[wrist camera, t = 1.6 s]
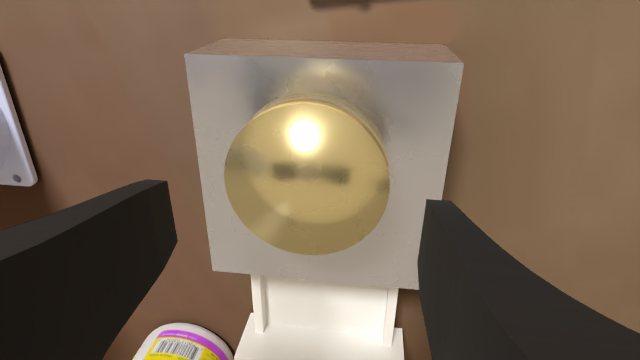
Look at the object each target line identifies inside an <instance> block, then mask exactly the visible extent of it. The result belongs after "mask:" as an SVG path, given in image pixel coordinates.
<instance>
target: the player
mask: <svg viewBox="0 0 640 360" xmlns="http://www.w3.org/2000/svg"><path fill="white" fill-rule="evenodd" d="M184 56H185V64H186V71H187V79H188V87H189V94H190V102H191V109H192V117H193V124H194V132H195V140H196V147H197V155H198V162H199V170H200V178H201V185H202V193H203V200H204V208H205V215H206V223H207V231H208V238H209V246H210V253H211V261H212V269H213V271H222V272H233V273H243V274H254V275H265V276H276V277H286V278H297V279H308V280H318V281H329V282H340V283H351V284H361V285H372V286H383V287H394V288H404V289H415V290H419V282H418V265H417V261H418V254H419V247H420V240H421V233H422V227H423V220H424V213H425V206H426V199H431V200H442V194H443V188H444V182H445V176H446V170H447V164H448V158H449V152H450V146H451V139H452V133H453V127H454V121H455V115H456V109H457V103H458V97H459V91H460V84H461V78H462V72H463V66H464V63H463V62H462V61H461V60H460V59H459V58H458V57H457V56H456V55H455V54H454V53H453V52H452V51H451V50H450V49H449V48H448V47H447V46H446V45H445V44H418V43H384V42H350V41H315V40H281V39H247V38H224V39H221V40H219V41H216V42H214V43H211V44H209V45H206V46H203V47H201V48H198V49H196V50H193V51H190V52H188V53H185V54H184ZM299 92H318V93H325V94H329V95H333V96H336V97H339V98H341V99H344V100H346V101H347V102H349V103H351V104H353V105H354V106H356V107H357V108H358V109H360V110H361V111H362V112H363V113H364V114H366V115H367V116H368V117H369V118H370V120H371V121H372V122H373V123H374V124H375V126H376V127H377V129H378V131H379V132H380V134H381V136H382V138H383V141H384V143H385V146H386V150H387V154H388V163H389V180H390V189H389V198H388V203H387V206H386V209H385V212H384V214H383V216H382V218H381V220H380V221H379V223H378V224H377V226H376V227H375V228H374V229H373V230H372V231H371V232H370V234H369V235H367V236H366V237H365V238H364V239H363V240H361V241H360V242H358V243H357V244H355V245H353V246H351V247H349V248H347V249H345V250H342V251H338V252H335V253H330V254H325V255H302V254H295V253H291V252H287V251H284V250H281V249H279V248H276V247H274V246H272V245H270V244H268V243H266V242H265V241H263V240H262V239H260V238H259V237H257V236H256V235H255V234H253V233H252V232H251V231H250V230H249V229H248V228H247V227H246V226H245V225H244V224H243V223H242V221H241V220H240V219H239V218H238V216H237V214H236V213H235V211H234V210H233V208H232V206H231V203H230V201H229V199H228V196H227V192H226V188H225V182H224V168H225V161H226V157H227V153H228V151H229V148H230V146H231V144H232V142H233V140H234V139H235V137H236V136H237V134H238V133H239V132H240V131H241V130H242V129H243V127H244V126H245V125H246V124H247V123H248V122H249V121H250V120H251V119H252V118H253V116H254V115H255V114H256V113H257V112H258V111H259V110H260V109H262V108H263V107H264V106H265V105H267V104H268V103H270V102H272V101H273V100H276V99H278V98H280V97H282V96H286V95H289V94H293V93H299Z"/></svg>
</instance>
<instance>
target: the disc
mask: <svg viewBox="0 0 640 360" xmlns="http://www.w3.org/2000/svg"><path fill="white" fill-rule="evenodd" d="M224 182H225V188H226V192H227V196H228V199H229V201H230V203H231V206H232V208H233V210H234V211H235V213H236V214H237V216H238V218H239V219H240V220H241V221H242V223H243V224H244V225H245V226H246V227H247V228H248V229H249V230H250V231H251V232H252V233H253V234H255V235H256V236H257V237H259V238H260V239H262V240H263V241H265V242H266V243H268V244H270V245H272V246H274V247H276V248H279V249H281V250H284V251H287V252H291V253H295V254H302V255H325V254H330V253H335V252H338V251H342V250H345V249H347V248H349V247H351V246H353V245H355V244H357V243H358V242H360V241H361V240H363V239H364V238H365V237H366V236H367V235H369V234H370V232H371V231H372V230H373V229H374V228H375V227H376V226H377V224H378V223H379V221H380V220H381V218H382V216H383V214H384V212H385V209H386V206H387V203H388V198H389V189H390V180H389V163H388V154H387V150H386V146H385V143H384V141H383V138H382V136H381V134H380V132H379V131H378V129H377V127H376V126H375V124H374V123H373V122H372V121H371V120H370V118H369V117H368V116H367V115H366V114H364V113H363V112H362V111H361V110H360V109H358V108H357V107H356V106H354V105H353V104H351V103H349V102H347V101H346V100H344V99H341V98H339V97H336V96H333V95H329V94H325V93H318V92H299V93H293V94H289V95H286V96H282V97H280V98H278V99H276V100H273V101H272V102H270V103H268V104H267V105H265V106H264V107H263V108H262V109H260V110H259V111H258V112H257V113H256V114H255V115H254V116H253V118H252V119H251V120H250V121H249V122H248V123H247V124H246V125H245V126H244V127H243V129H242V130H241V131H240V132H239V133H238V134H237V136H236V137H235V139H234V140H233V142H232V144H231V146H230V148H229V151H228V153H227V157H226V161H225V168H224Z"/></svg>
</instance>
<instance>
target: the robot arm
mask: <svg viewBox="0 0 640 360" xmlns="http://www.w3.org/2000/svg"><path fill="white" fill-rule="evenodd" d="M19 176H20V178H19ZM37 181H38V178H37V175H36V172H35V168H34V165H33V162H32V159H31V156H30V153H29V150H28V147H27V144H26V141H25V138H24V135H23V132H22V129H21V126H20V123H19V120H18V117H17V114H16V111H15V108H14V105H13V102H12V99H11V95H10V92H9V89H8V86H7V83H6V80H5V77H4V74H3V71H2V68H1V65H0V184H1V185H14V186H32V185H34V184H35V183H37ZM176 243H177V235H176V230H175V224H174V218H173V212H172V206H171V201H170V195H169V189H168V183H167V181H160V180H143V181H139V182H136V183H132V184H129V185H127V186H124V187H121V188H118V189H116V190H113V191H110V192H108V193H105V194H103V195H100V196H98V197H95V198H92V199H90V200H87V201H85V202H82V203H80V204H77V205H75V206H72V207H69V208H66V209H63V210H61V211H58V212H55V213H52V214H50V215H47V216H44V217H41V218H39V219H36V220H33V221H30V222H27V223H24V224H21V225H17V226H14V227H11V228H8V229H4V230H1V231H0V360H102V359H103V357H104V355H105V353H106V352H107V350H108V348H109V347H110V345H111V344H112V342H113V341H114V339H115V338H116V336H117V335H118V333H119V332H120V330H121V329H122V328H123V326H124V325H125V323H126V322H127V321H128V319H129V318H130V316H131V315H132V314H133V312H134V311H135V309H136V308H137V307H138V305H139V304H140V302H141V301H142V300H143V298H144V297H145V295H146V294H147V293H148V291H149V290H150V288H151V287H152V285H153V284H154V283H155V281H156V280H157V278H158V277H159V275H160V274H161V272H162V271H163V269H164V267H165V266H166V264H167V262H168V260H169V258H170V256H171V254H172V252H173V250H174V248H175V245H176ZM417 265H418V282H419V295H420V300H421V305H422V311H423V316H424V321H425V326H426V331H427V336H428V341H429V346H430V350H431V355H432V360H640V334H639V333H637V332H635V331H633V330H631V329H629V328H627V327H625V326H623V325H621V324H619V323H617V322H615V321H613V320H611V319H609V318H607V317H605V316H604V315H602V314H600V313H598V312H596V311H595V310H593V309H591V308H589V307H588V306H586V305H584V304H582V303H580V302H579V301H577V300H575V299H573V298H572V297H570V296H569V295H567V294H565V293H564V292H562V291H560V290H559V289H557V288H556V287H554V286H553V285H551V284H550V283H548V282H547V281H545V280H544V279H542V278H541V277H539V276H538V275H536V274H535V273H533V272H532V271H531V270H529V269H528V268H526V267H525V266H524V265H522V264H521V263H520V262H519V261H517V260H516V259H515V258H514V257H512V256H511V255H510V254H508V253H507V252H506V251H505V250H503V249H502V248H501V247H500V246H499V245H498V244H496V243H495V242H494V241H493V240H492V239H491V238H490V237H488V236H487V235H486V234H485V233H484V232H483V231H482V230H481V229H480V228H479V227H478V226H476V225H475V224H474V223H473V222H472V221H471V220H470V219H469V218H468V217H467V216H466V215H465V214H464V213H463V212H462V211H461V210H460V209H459V208H458V207H457V206H456V205H455V204H453V203H452V202H451V201H445V200H431V199H426V206H425V213H424V220H423V227H422V233H421V240H420V247H419V254H418V261H417Z"/></svg>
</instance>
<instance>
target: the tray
mask: <svg viewBox="0 0 640 360" xmlns="http://www.w3.org/2000/svg"><path fill="white" fill-rule="evenodd" d="M251 285H252V297H253V310H254V313H251V314H250V316H249V319H248V322H247V324H246V327H245V330H244V332H243V335H242V338H241V340H240V343H239V345H238V348H237V351H236V353H235V356H234V360H404V349H403V335H402V328H394V321H395V313H396V305H397V297H398V289H399V288H394V287H383V286H372V285H361V284H351V283H340V282H329V281H318V280H308V279H297V278H286V277H276V276H265V275H254V274H251Z"/></svg>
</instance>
